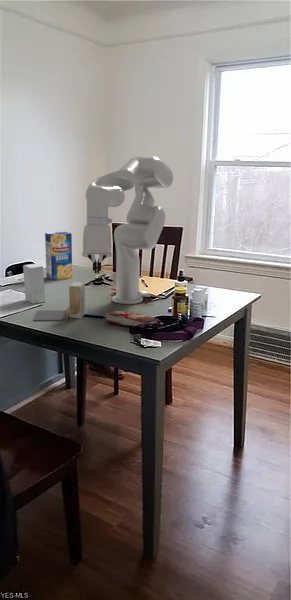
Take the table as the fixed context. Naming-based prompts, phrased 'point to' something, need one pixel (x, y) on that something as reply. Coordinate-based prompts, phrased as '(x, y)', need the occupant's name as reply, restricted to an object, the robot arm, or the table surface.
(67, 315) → the stop strip
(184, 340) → the table surface
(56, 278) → the beverage box
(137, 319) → the pencil case
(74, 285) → the skincare box
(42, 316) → the mat
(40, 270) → the skincare box
